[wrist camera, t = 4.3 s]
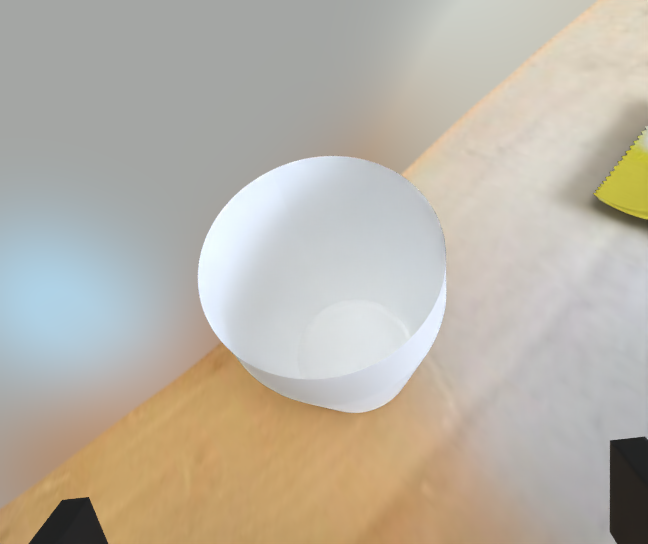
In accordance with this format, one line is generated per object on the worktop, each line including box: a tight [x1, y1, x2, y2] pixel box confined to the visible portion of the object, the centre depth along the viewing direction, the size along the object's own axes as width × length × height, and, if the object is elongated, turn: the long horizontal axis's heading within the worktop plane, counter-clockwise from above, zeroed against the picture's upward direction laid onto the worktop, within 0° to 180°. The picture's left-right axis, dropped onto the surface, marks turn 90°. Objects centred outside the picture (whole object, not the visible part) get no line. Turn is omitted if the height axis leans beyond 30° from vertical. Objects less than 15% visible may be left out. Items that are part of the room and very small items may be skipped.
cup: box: [198, 156, 446, 413], centre depth 21 cm, size 9×9×12 cm
